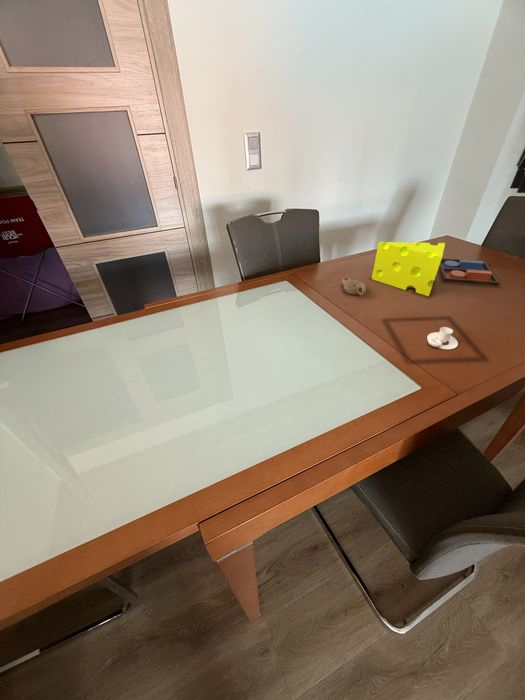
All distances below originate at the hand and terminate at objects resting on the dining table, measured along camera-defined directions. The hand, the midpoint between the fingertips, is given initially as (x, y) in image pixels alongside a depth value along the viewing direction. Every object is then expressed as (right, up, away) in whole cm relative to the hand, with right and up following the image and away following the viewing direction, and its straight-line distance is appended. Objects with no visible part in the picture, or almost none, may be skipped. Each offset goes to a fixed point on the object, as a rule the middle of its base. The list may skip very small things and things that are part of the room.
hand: (517, 190), depth 117 cm
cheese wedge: (-44, -38, -4) cm, 58 cm away
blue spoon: (-19, -29, +4) cm, 35 cm away
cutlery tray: (-20, -32, +1) cm, 38 cm away
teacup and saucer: (-50, -59, -29) cm, 83 cm away
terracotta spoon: (-21, -35, -3) cm, 41 cm away
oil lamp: (-66, -41, -6) cm, 78 cm away
